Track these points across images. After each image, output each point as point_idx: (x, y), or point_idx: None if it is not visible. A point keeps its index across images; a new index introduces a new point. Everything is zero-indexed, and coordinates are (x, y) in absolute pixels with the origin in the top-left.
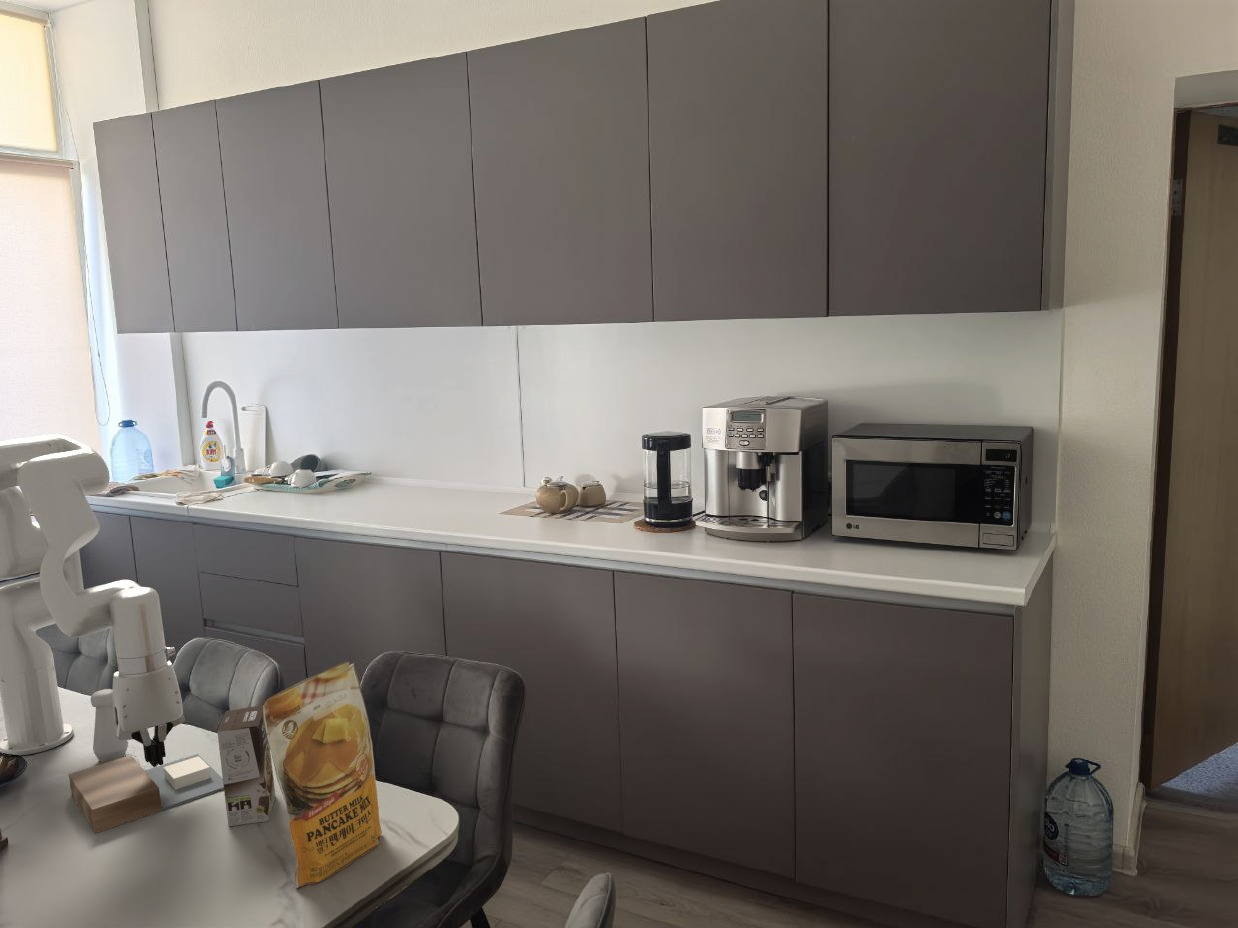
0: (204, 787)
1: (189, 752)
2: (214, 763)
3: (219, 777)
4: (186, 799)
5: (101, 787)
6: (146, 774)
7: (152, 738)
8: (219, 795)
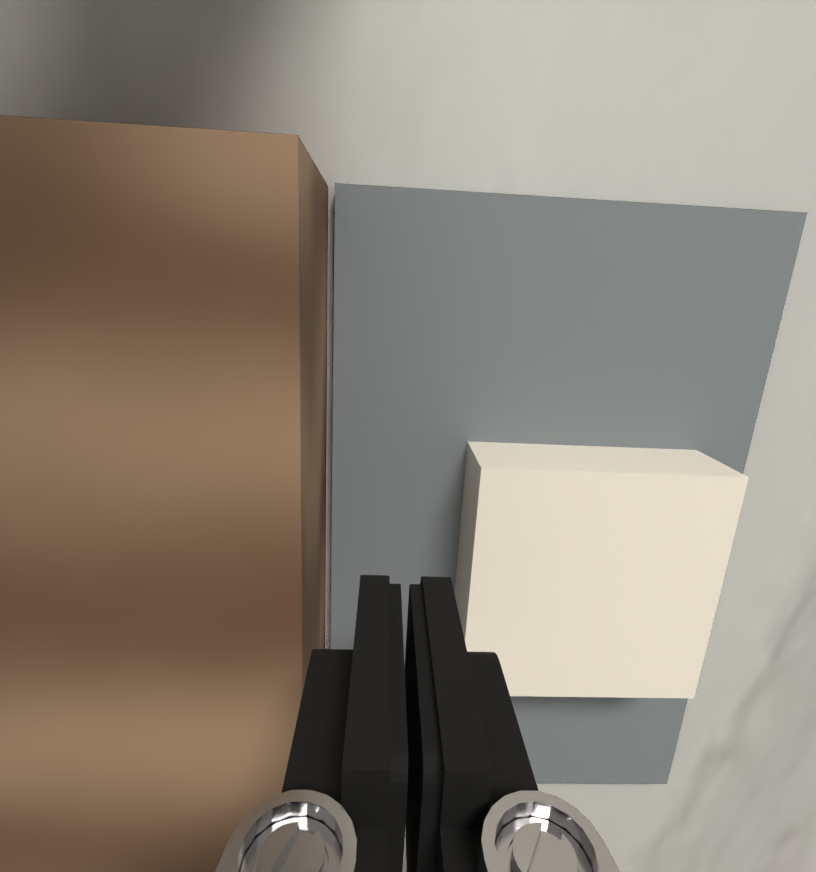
0: (571, 725)
1: (794, 79)
2: (782, 437)
3: None
4: None
5: None
6: (294, 689)
7: (442, 770)
8: (584, 809)
